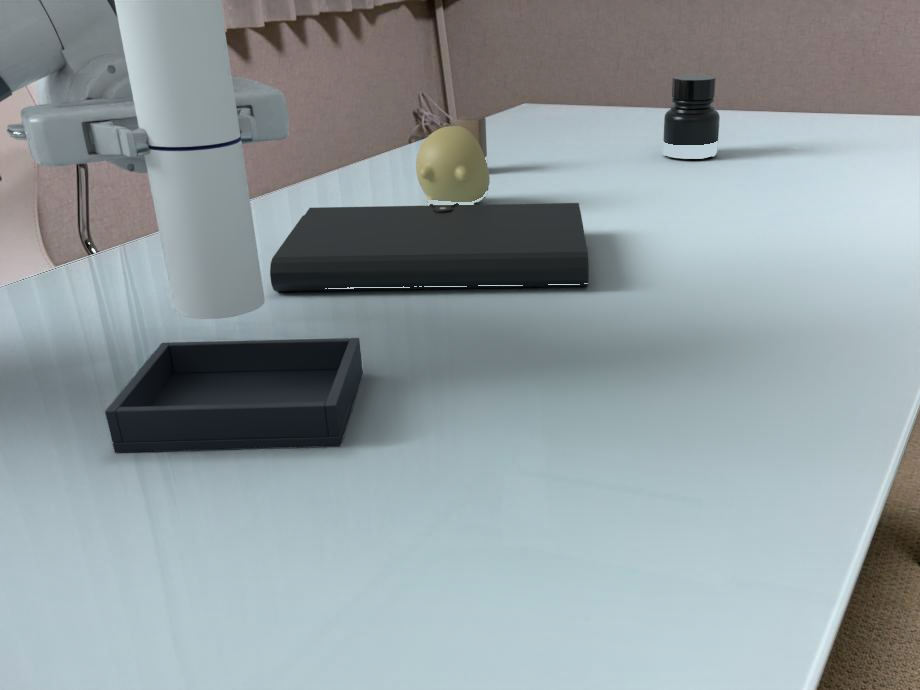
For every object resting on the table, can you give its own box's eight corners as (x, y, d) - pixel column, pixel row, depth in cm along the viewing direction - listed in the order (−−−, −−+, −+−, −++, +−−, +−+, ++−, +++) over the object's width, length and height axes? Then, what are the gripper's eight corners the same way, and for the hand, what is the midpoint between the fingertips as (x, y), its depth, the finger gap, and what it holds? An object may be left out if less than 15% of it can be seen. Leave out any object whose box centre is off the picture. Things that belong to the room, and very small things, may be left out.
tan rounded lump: (491, 235, 144) (505, 170, 147) (475, 180, 133) (490, 111, 136) (423, 230, 146) (438, 166, 149) (401, 175, 135) (418, 107, 138)
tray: (114, 452, 77) (104, 411, 75) (168, 379, 90) (161, 342, 88) (340, 446, 77) (335, 405, 76) (363, 374, 90) (359, 337, 88)
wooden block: (488, 169, 166) (486, 115, 162) (481, 174, 163) (478, 119, 159) (463, 168, 167) (461, 115, 163) (456, 173, 163) (453, 119, 159)
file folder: (578, 199, 128) (588, 255, 108) (578, 233, 130) (588, 294, 110) (309, 204, 128) (267, 260, 108) (313, 237, 130) (273, 299, 110)
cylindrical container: (180, 324, 81) (109, -47, 68) (168, 298, 86) (100, -49, 74) (273, 311, 83) (221, -49, 71) (255, 286, 89) (204, -51, 76)
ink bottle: (729, 156, 173) (735, 77, 167) (697, 164, 167) (702, 82, 161) (682, 149, 179) (686, 72, 173) (649, 156, 173) (652, 78, 167)
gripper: (-11, 85, 80) (38, 105, 71) (241, 64, 91) (313, 79, 81) (11, 170, 84) (61, 200, 74) (252, 141, 94) (323, 164, 85)
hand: (195, 137), depth 78 cm, fingers closed on cylindrical container, 7 cm apart
